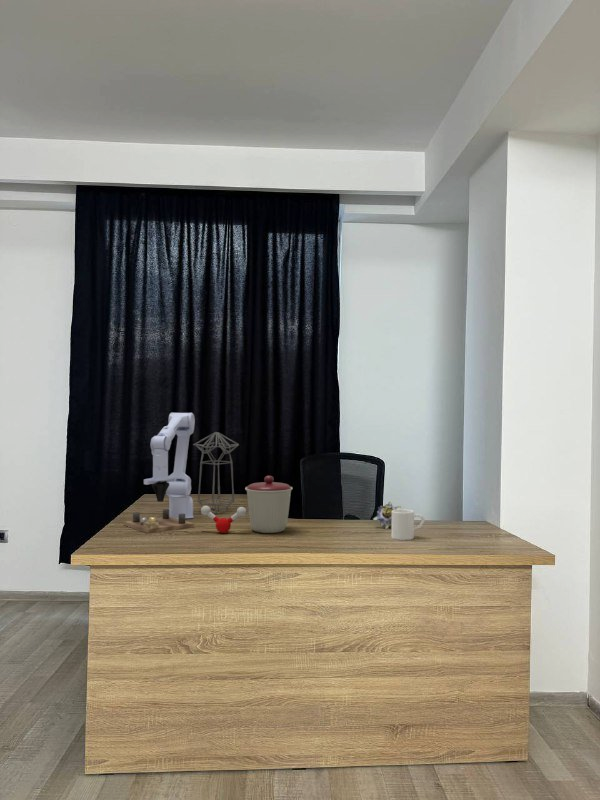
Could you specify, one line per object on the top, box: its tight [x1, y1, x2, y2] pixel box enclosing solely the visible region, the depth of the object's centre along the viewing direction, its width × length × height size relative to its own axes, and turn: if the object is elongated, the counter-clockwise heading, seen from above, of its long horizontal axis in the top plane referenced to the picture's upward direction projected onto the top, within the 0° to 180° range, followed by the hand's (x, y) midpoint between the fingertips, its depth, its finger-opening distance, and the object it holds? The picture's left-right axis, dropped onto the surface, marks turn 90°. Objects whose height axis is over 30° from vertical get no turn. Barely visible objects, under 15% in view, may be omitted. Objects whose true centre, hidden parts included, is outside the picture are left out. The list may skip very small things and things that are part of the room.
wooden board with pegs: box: [123, 508, 195, 534], centre depth 287 cm, size 20×20×5 cm
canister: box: [244, 475, 293, 534], centre depth 279 cm, size 18×18×21 cm
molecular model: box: [200, 505, 248, 534], centre depth 275 cm, size 18×6×10 cm, turn 79°
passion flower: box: [372, 501, 402, 530], centre depth 288 cm, size 11×11×12 cm
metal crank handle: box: [140, 516, 157, 525], centre depth 280 cm, size 9×3×3 cm, turn 41°
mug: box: [390, 508, 426, 541], centre depth 267 cm, size 8×12×10 cm, turn 82°
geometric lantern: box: [192, 431, 240, 514], centre depth 322 cm, size 16×16×35 cm
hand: (160, 501), depth 286 cm, fingers closed
